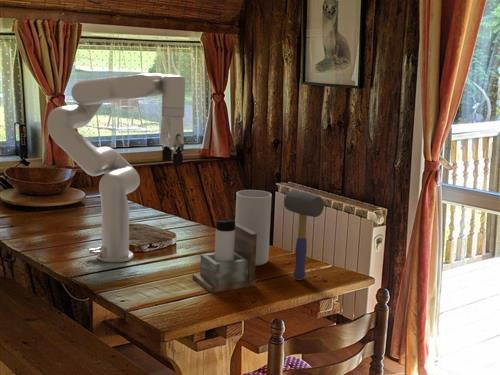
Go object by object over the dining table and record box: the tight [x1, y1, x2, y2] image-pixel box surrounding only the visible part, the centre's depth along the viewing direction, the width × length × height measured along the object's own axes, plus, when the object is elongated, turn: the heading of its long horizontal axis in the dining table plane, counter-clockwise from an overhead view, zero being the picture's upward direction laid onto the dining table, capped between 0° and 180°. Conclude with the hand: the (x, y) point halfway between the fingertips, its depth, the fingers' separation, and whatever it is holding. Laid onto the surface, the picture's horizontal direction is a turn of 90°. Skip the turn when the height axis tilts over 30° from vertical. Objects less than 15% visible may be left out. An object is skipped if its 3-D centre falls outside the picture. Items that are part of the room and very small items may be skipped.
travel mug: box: [214, 218, 235, 263], centre depth 212 cm, size 6×7×20 cm
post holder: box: [192, 224, 257, 294], centre depth 213 cm, size 16×14×18 cm
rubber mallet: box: [283, 190, 325, 281], centre depth 218 cm, size 12×8×30 cm, turn 46°
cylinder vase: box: [234, 189, 273, 267], centre depth 235 cm, size 12×12×25 cm
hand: (172, 163), depth 222 cm, fingers open, 9 cm apart
